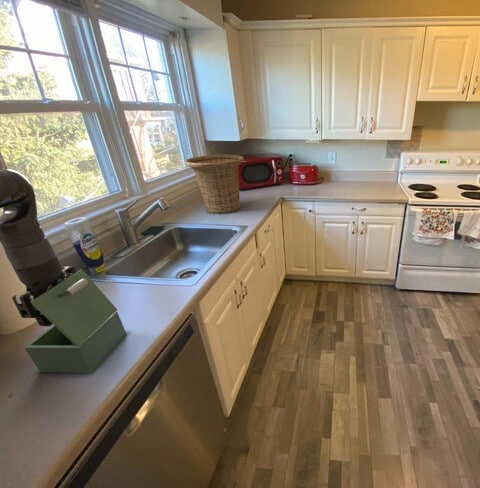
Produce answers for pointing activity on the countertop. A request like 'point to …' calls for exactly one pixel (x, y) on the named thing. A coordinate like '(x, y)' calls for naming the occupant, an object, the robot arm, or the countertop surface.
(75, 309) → the bin lid
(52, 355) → the bin
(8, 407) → the countertop surface
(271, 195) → the countertop surface
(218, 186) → the wicker basket
